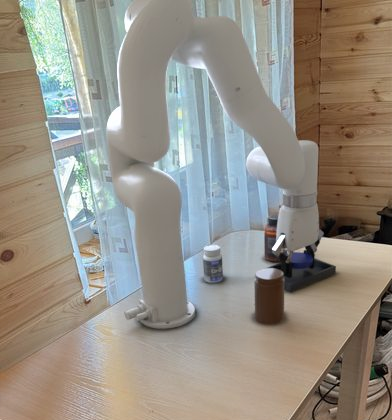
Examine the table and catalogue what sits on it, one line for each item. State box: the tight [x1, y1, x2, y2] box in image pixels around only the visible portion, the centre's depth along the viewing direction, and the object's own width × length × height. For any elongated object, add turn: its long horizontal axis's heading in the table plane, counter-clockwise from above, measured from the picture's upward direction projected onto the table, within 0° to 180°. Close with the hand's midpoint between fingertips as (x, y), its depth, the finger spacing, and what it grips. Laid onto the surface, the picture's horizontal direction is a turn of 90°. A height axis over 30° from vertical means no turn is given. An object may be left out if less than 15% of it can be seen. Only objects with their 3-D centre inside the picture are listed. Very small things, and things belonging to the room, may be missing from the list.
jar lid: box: [285, 251, 313, 269], centre depth 125 cm, size 7×7×2 cm
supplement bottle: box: [263, 214, 288, 263], centre depth 135 cm, size 6×6×11 cm
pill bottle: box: [202, 244, 224, 284], centre depth 127 cm, size 5×5×8 cm
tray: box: [264, 258, 337, 293], centre depth 127 cm, size 15×11×2 cm
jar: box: [253, 267, 286, 325], centre depth 108 cm, size 6×6×10 cm
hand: (297, 270), depth 126 cm, fingers closed on jar lid, 6 cm apart
